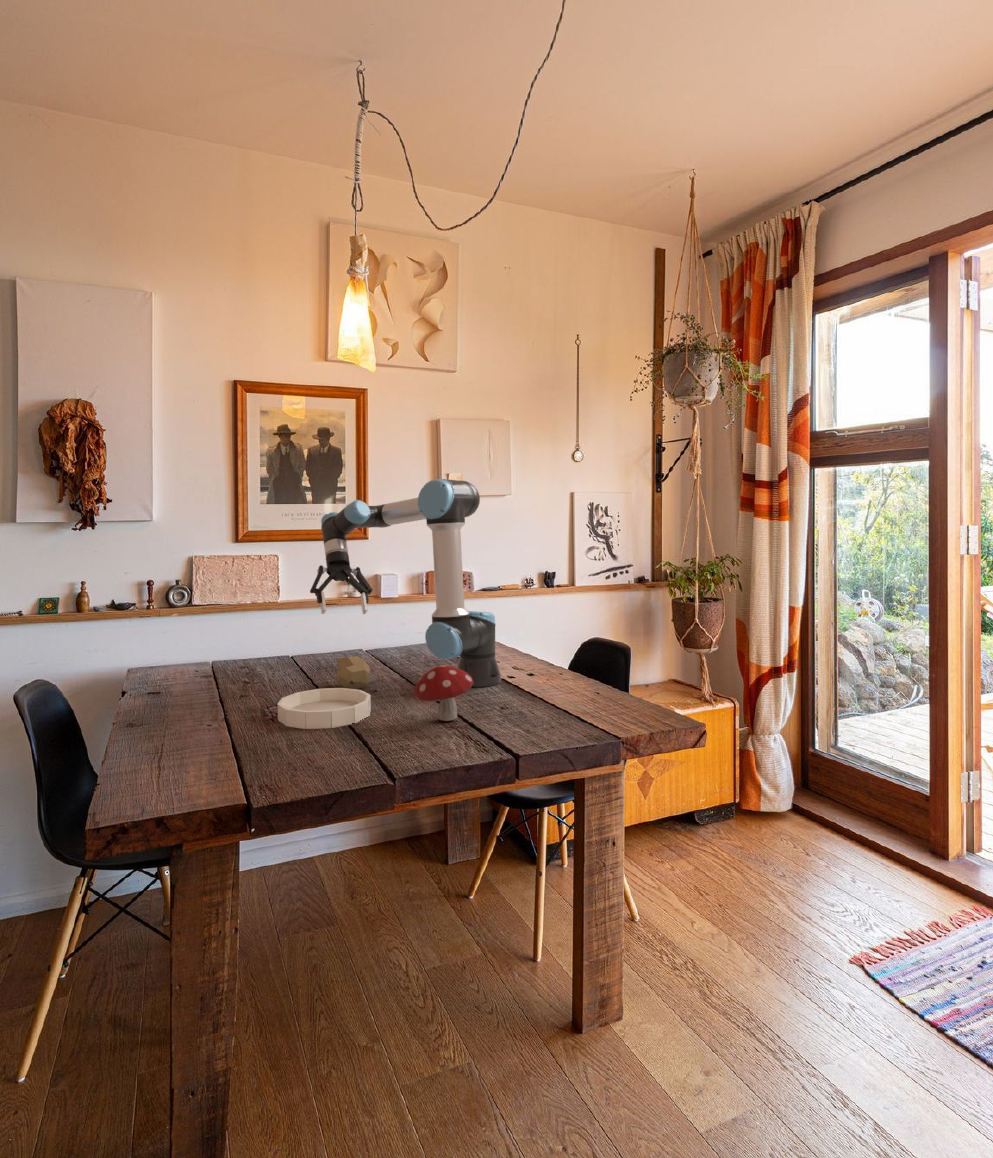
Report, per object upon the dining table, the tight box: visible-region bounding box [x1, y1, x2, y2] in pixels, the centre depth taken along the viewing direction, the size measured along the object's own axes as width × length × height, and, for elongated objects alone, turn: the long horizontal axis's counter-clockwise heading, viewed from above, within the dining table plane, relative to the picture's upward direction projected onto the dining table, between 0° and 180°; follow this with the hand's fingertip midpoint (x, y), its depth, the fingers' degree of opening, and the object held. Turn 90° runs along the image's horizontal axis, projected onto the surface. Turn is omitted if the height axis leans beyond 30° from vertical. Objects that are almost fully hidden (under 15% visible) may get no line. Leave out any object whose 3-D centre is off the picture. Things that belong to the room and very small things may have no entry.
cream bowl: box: [276, 687, 372, 730], centre depth 188 cm, size 24×24×4 cm
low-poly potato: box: [336, 655, 371, 690], centre depth 217 cm, size 15×11×12 cm
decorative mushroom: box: [413, 665, 474, 722], centre depth 181 cm, size 16×16×15 cm
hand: (344, 612), depth 221 cm, fingers open, 13 cm apart
